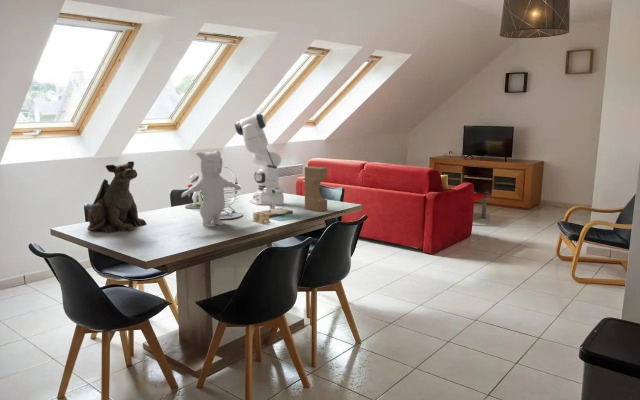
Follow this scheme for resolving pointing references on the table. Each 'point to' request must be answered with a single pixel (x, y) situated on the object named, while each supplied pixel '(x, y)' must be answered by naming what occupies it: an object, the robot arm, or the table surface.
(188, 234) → the table surface
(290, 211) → the deck
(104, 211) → the sculpture
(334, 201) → the table surface
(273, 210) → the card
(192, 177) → the figurine
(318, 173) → the decorative block
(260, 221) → the oak rack
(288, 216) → the mat
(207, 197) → the toy bear
